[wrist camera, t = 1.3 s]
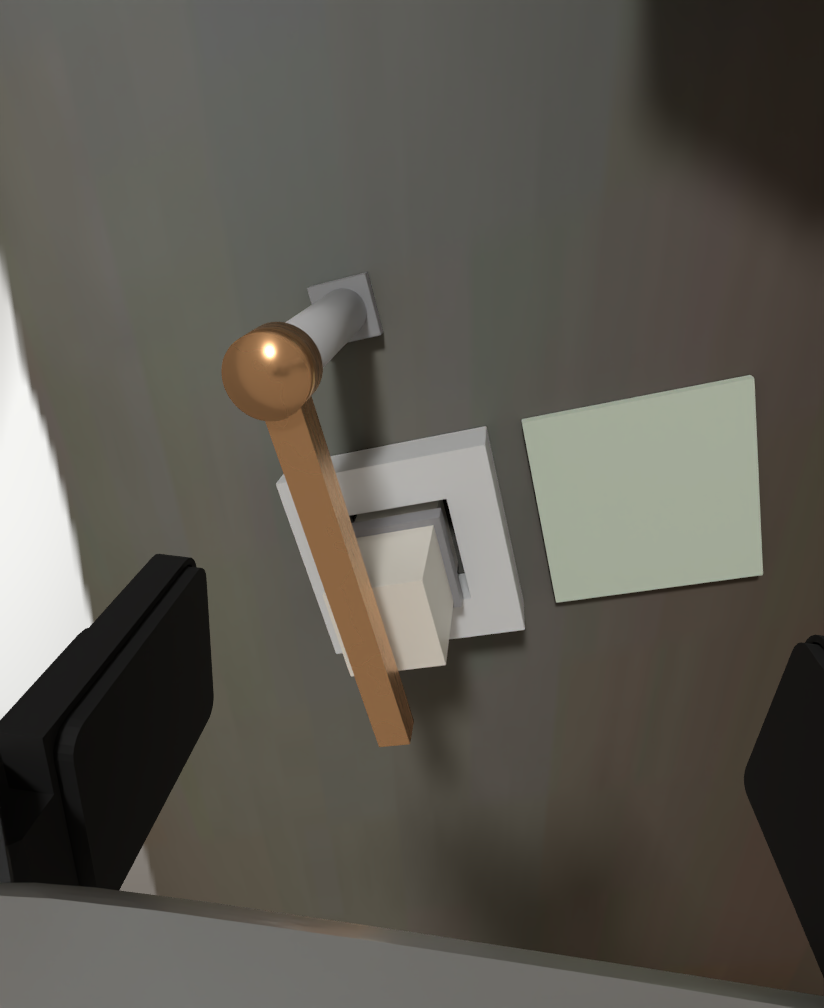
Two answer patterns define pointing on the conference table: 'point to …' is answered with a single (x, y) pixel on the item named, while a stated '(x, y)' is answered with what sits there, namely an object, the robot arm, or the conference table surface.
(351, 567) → the wooden bar
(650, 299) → the conference table surface
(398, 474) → the socket block
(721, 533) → the mat
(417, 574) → the plug
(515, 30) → the conference table surface
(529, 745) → the conference table surface
